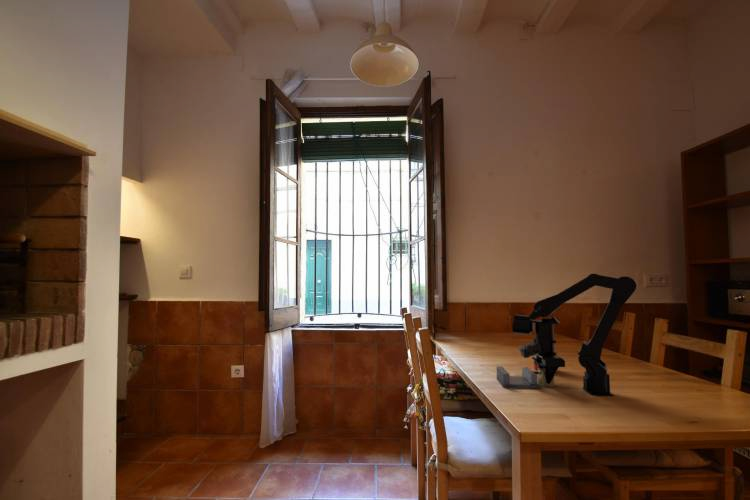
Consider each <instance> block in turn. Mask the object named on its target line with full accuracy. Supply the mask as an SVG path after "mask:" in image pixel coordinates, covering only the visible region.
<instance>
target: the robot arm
mask: <svg viewBox="0 0 750 500" xmlns="http://www.w3.org/2000/svg"><path fill="white" fill-rule="evenodd" d="M596 286H597V287H601V288H606V289H611V295H610V298H609V302H608V304H607V305H606V308H605V310H604V312H603V315H602V317H601V318H600V321H599V322H598V325H597V327H596V328H595V331H594V332H593V334H592V337H591V338H590V339H589V341H588V342H587V341H586V340H583V342H582V344H581V348H580V349H579V350H578V352H577V355H578V362H579V364H580V365H581V367H583V368H584V369H585V371H584V375H583V376H582V380H583V381H582V383H583V385H582V386H583V387H582V389H583V390H585V391H586V392H587V393H588V394H590V395H592V396H614V394H613V393H612V392H611V383H610V381H611V380H610V374H609V373H607V372H608V364H606V363H605V362H604V361H603V360H602V358H601V356H602V352H603V348H604V345H605V342H606V340H607V338H608V336H609V334H610V332H611V330H612V328H613V327H614V324H615V322H616V320H617V318H618V316H619V313H620V312H621V310H622V308H623V306H625V304H626V302H627V301H628V300H629V299H630V297H631V296H632V295H633V294H634V292H635V291H636V289H637V283H636V281H635V280H634V278H632V277H630V276H626V275H623V276H618V277H611V276H608V275H601V274H598V273H590V274H588V275H587V276H586V277H585V278H583V279H581V280H579V281H578V282H576V283H574V284H573V285H570V286H569V287H567V288H565V289H564V290H562V291H560V292H559V293H556V294H554V295H552V296H549V297H545V298H543V299H540V300H537V301H536V302H535V304H534V305H533V311H532V312H531V313H529V315H521V314H513V320H512V325H511V326H512V327H511V328H512V332H513V334H516V335H517V334H519V335H529V336H531V335H532V333H534V332H535V337H533V339H532V342H529V343H525V344H523V345H520V346H518V350H519V352H520V354H521V357H523V358H525V359H528V358H530V357H531V359H532V360H533V362H534V361H535V362H536V363H537V365H538V368H544V372H545V378H546V383H547V384H550V383H551V381H552V379H553V377H554V378H555V374H556V373H557V371H558V369H559V368H565V367H566V361H565V359H564V358H562V357H561V356H559V355H557V352H556V351H555V352H554V345H555V344H557V340H556V339H555V337H554V336H555V334H554V333H555V332H554V330H555V329H554V325H559V324H560V321H559V320H558V319H557V318H556V316H552V318H549V316H550V315H552V314H553V313H554V312H555V311H556V310H558V309H559V308H561V306H562V305H563V304H565V303H567V302H568V301H570V300H572V299H573V298H576V297H577V296H579V295H581V294H583V293H584V292H586V291H589V289H591V288H593V287H596ZM540 317H541V320H537V319H538V318H540ZM546 317H547V318H546ZM552 355H555V356H552ZM532 356H533V357H532Z"/></svg>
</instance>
